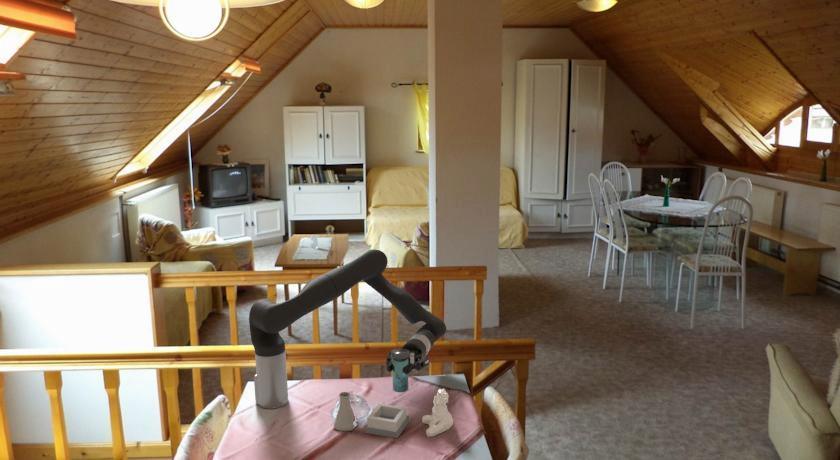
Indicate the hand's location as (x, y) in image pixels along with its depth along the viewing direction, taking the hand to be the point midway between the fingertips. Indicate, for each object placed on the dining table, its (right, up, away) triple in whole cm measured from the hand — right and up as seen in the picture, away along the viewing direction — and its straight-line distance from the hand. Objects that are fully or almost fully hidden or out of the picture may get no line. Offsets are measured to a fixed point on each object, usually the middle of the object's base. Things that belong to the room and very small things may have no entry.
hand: (397, 370), depth 189 cm
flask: (-15, -15, -4) cm, 22 cm away
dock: (-3, -15, -5) cm, 16 cm away
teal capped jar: (+1, -7, +4) cm, 8 cm away
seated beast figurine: (+12, -15, -6) cm, 21 cm away
